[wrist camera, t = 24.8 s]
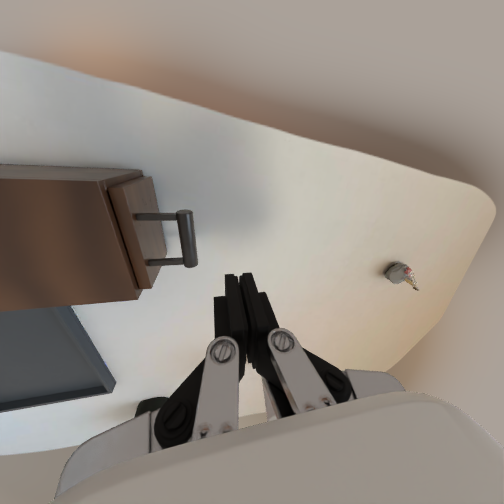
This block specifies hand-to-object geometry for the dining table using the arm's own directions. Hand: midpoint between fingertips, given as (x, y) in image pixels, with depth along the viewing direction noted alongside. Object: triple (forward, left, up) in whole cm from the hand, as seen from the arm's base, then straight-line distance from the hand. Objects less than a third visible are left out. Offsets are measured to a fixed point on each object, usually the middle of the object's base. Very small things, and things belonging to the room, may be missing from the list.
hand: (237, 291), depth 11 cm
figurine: (+12, +36, -17) cm, 42 cm away
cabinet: (0, -17, -17) cm, 24 cm away
